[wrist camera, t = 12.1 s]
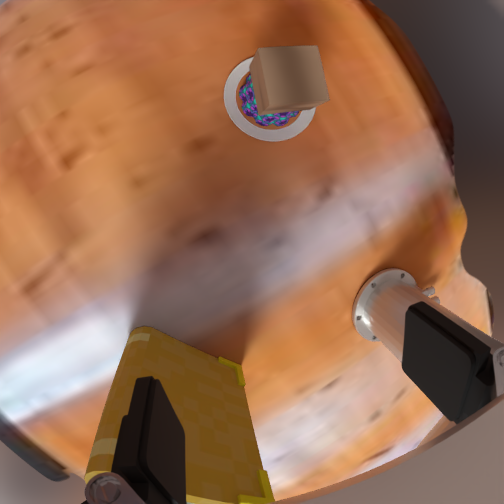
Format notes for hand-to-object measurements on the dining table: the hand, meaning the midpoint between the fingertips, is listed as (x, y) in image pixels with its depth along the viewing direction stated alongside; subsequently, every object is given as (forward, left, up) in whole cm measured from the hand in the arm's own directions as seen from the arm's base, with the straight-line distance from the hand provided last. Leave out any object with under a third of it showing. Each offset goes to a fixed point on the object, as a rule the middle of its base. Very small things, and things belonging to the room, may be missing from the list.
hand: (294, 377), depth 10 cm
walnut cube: (-9, -15, -25) cm, 31 cm away
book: (+11, +18, -31) cm, 37 cm away
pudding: (-9, -15, -31) cm, 36 cm away
